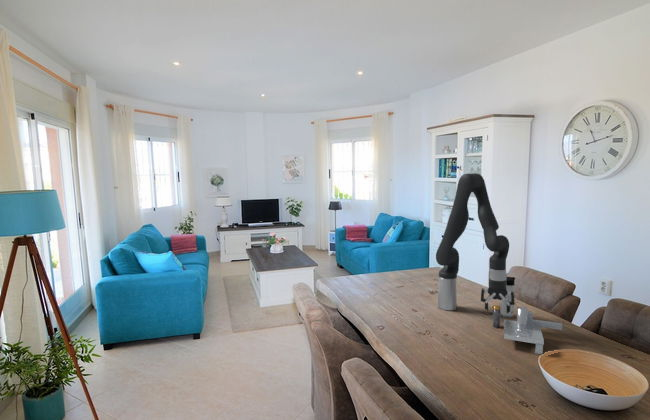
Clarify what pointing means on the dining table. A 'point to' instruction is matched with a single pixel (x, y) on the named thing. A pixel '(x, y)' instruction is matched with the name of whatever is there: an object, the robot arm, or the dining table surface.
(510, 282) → the travel mug
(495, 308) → the pin
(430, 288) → the dining table surface
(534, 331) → the grey metal bracket
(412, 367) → the dining table surface
